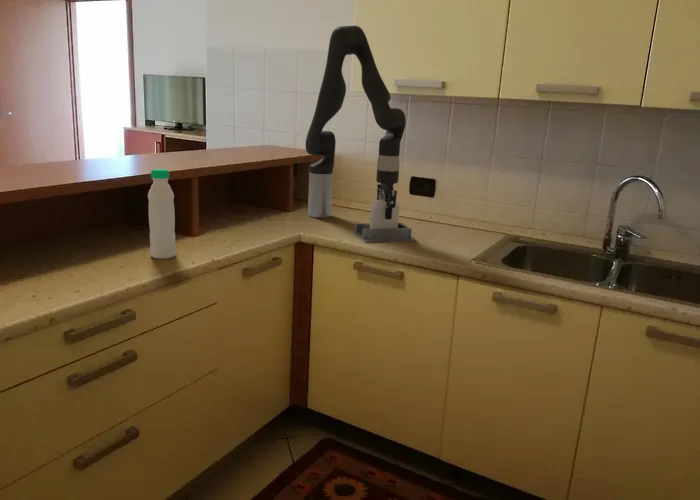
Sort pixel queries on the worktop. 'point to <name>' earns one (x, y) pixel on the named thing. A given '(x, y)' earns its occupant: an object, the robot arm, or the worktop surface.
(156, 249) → the water bottle
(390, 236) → the bracket
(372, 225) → the photo printer
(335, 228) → the worktop surface
